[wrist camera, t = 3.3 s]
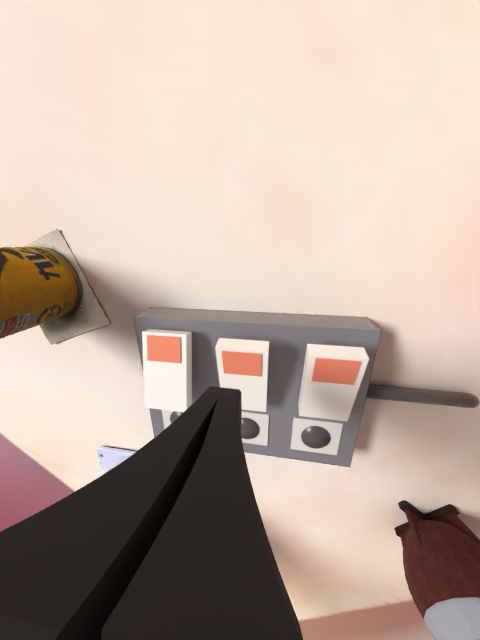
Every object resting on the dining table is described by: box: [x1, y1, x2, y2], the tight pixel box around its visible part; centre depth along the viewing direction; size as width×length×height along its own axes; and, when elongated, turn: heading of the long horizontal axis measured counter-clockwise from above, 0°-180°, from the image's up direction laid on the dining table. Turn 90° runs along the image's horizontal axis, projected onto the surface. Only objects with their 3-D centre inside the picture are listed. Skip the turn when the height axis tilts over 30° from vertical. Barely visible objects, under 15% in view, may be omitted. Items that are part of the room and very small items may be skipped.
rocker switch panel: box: [134, 307, 479, 467], centre depth 18 cm, size 12×26×3 cm, turn 90°
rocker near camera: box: [298, 344, 369, 421], centre depth 15 cm, size 6×3×1 cm, turn 0°
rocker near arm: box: [142, 329, 192, 412], centre depth 16 cm, size 6×3×1 cm, turn 0°
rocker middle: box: [215, 338, 269, 412], centre depth 15 cm, size 6×3×1 cm, turn 1°
